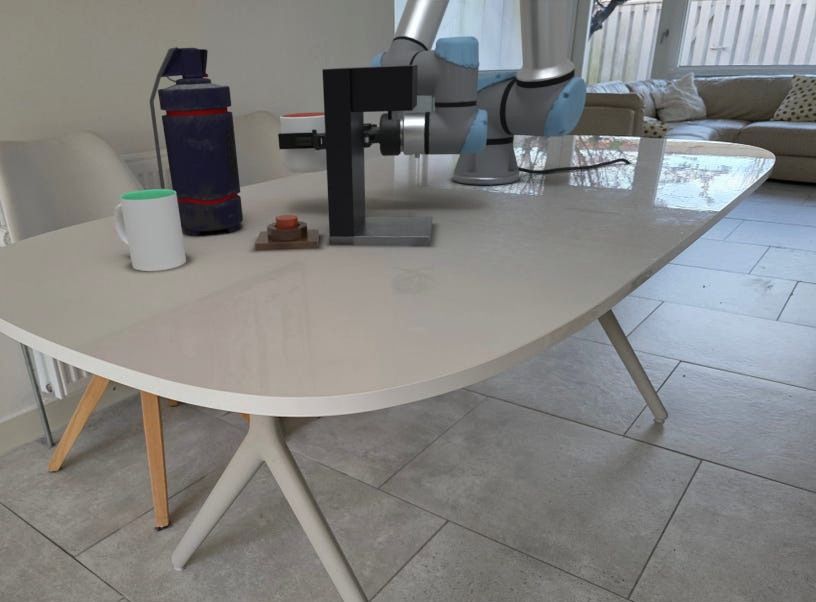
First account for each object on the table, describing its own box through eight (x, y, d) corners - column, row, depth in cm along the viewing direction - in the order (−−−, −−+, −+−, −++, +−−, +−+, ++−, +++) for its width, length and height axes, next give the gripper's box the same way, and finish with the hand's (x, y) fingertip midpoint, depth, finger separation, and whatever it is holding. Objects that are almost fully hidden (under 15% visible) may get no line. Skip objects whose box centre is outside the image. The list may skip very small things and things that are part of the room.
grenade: (238, 218, 121) (220, 47, 108) (248, 232, 111) (230, 44, 98) (166, 226, 118) (138, 50, 105) (169, 241, 107) (139, 47, 94)
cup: (334, 172, 117) (332, 115, 112) (282, 175, 117) (277, 118, 113) (335, 164, 126) (333, 111, 121) (286, 166, 126) (282, 113, 122)
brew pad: (319, 236, 107) (318, 218, 105) (317, 248, 99) (316, 230, 98) (261, 238, 107) (259, 220, 106) (255, 250, 100) (253, 232, 98)
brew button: (298, 224, 104) (298, 214, 103) (297, 230, 100) (296, 219, 100) (277, 225, 104) (276, 215, 103) (275, 230, 100) (274, 220, 100)
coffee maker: (432, 225, 111) (436, 63, 99) (428, 245, 98) (433, 64, 87) (343, 224, 113) (338, 68, 102) (329, 245, 101) (322, 69, 90)
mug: (102, 264, 96) (88, 196, 91) (140, 251, 102) (129, 186, 98) (160, 273, 90) (148, 201, 86) (197, 258, 97) (187, 190, 92)
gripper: (396, 165, 107) (272, 167, 111) (406, 147, 127) (300, 149, 131) (396, 118, 104) (268, 123, 108) (406, 107, 124) (298, 111, 128)
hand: (286, 137), depth 119 cm, fingers closed on cup, 10 cm apart
